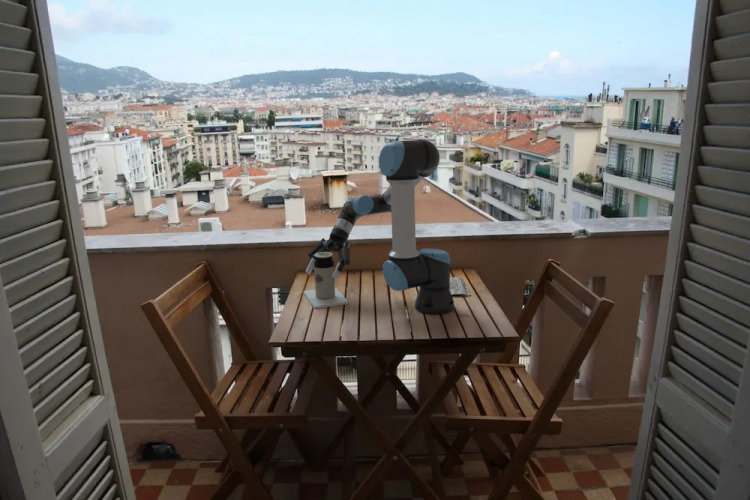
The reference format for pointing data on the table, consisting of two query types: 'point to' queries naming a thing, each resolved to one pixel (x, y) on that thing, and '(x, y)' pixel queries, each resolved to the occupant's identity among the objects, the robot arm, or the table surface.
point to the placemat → (322, 303)
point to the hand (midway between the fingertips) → (320, 275)
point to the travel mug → (324, 275)
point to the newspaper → (458, 286)
